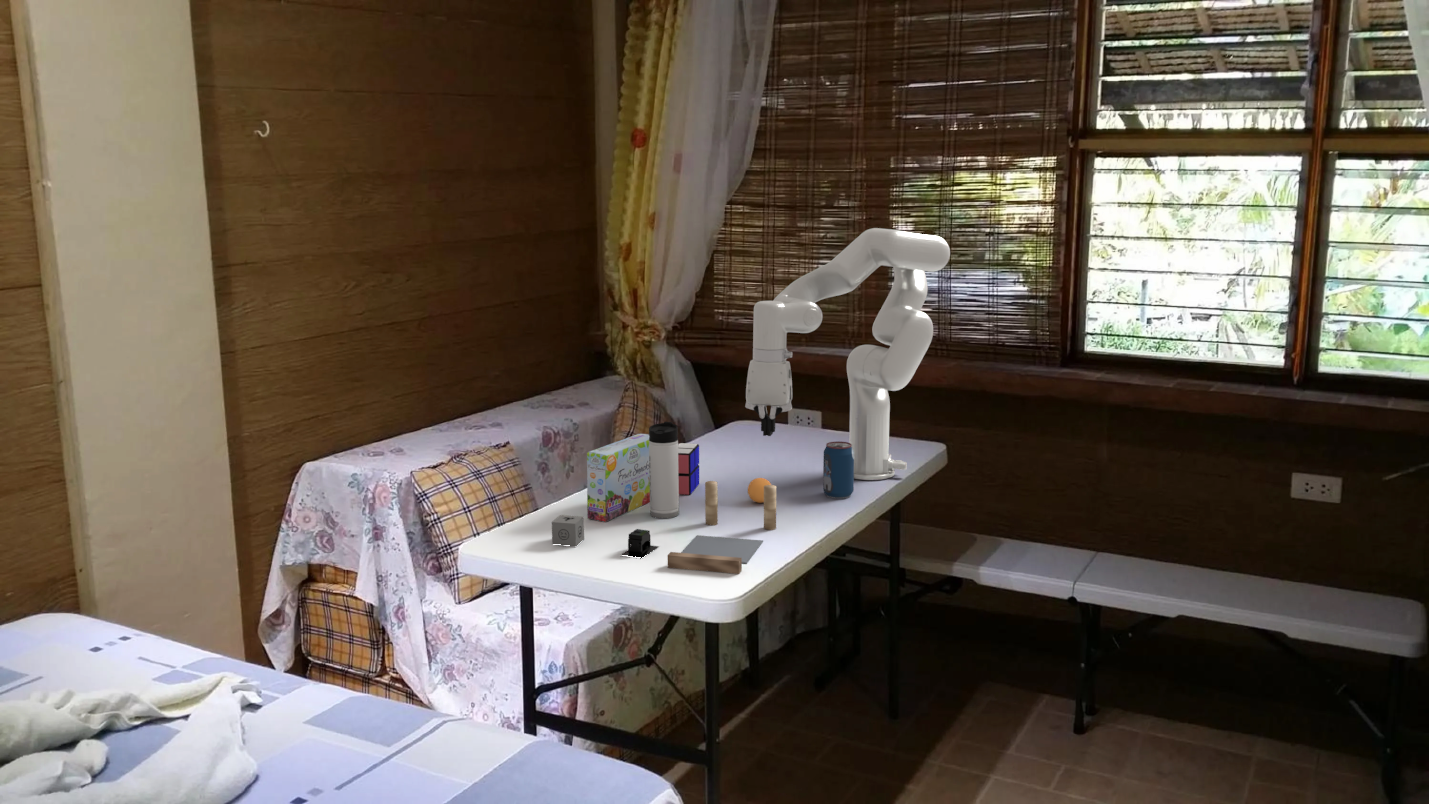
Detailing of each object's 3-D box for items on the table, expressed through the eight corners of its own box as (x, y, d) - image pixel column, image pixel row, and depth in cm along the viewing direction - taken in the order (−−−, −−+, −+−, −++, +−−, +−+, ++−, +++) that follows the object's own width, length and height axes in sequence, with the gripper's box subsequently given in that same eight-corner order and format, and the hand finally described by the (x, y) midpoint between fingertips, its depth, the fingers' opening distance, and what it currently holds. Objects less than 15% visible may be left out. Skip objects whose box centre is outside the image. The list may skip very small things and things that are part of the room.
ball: (775, 499, 280) (775, 475, 279) (769, 506, 275) (769, 482, 274) (750, 498, 282) (750, 474, 281) (745, 504, 276) (745, 480, 275)
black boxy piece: (637, 542, 253) (637, 521, 252) (670, 547, 250) (669, 525, 249) (609, 561, 242) (608, 539, 241) (642, 566, 239) (642, 543, 238)
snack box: (608, 523, 264) (606, 454, 261) (586, 519, 267) (584, 451, 264) (660, 498, 282) (659, 434, 279) (639, 495, 285) (638, 431, 282)
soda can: (857, 493, 285) (858, 442, 283) (847, 500, 279) (848, 449, 277) (829, 489, 288) (829, 439, 286) (818, 497, 282) (819, 446, 280)
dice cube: (584, 539, 253) (583, 516, 252) (576, 547, 248) (575, 523, 247) (561, 538, 254) (560, 514, 253) (552, 545, 249) (551, 522, 248)
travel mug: (683, 511, 272) (682, 422, 268) (672, 519, 266) (671, 429, 262) (657, 508, 274) (655, 420, 270) (645, 517, 268) (644, 427, 264)
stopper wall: (741, 570, 234) (741, 557, 234) (739, 573, 232) (739, 561, 232) (670, 564, 238) (670, 551, 237) (667, 567, 236) (667, 555, 235)
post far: (719, 522, 264) (718, 481, 262) (715, 525, 262) (715, 484, 260) (707, 521, 265) (707, 480, 263) (704, 524, 262) (703, 483, 260)
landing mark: (763, 541, 251) (763, 540, 251) (746, 563, 238) (746, 562, 238) (696, 536, 255) (696, 535, 255) (676, 557, 242) (676, 556, 241)
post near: (777, 526, 261) (777, 485, 259) (774, 530, 258) (774, 488, 256) (765, 525, 261) (765, 484, 259) (762, 529, 259) (762, 487, 257)
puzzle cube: (690, 496, 284) (690, 453, 282) (648, 494, 286) (647, 451, 284) (699, 484, 294) (699, 443, 292) (658, 482, 296) (658, 441, 294)
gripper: (805, 354, 282) (803, 433, 286) (741, 351, 286) (740, 429, 290) (798, 360, 275) (796, 440, 279) (733, 356, 279) (732, 436, 283)
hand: (768, 434), depth 284 cm, fingers closed
